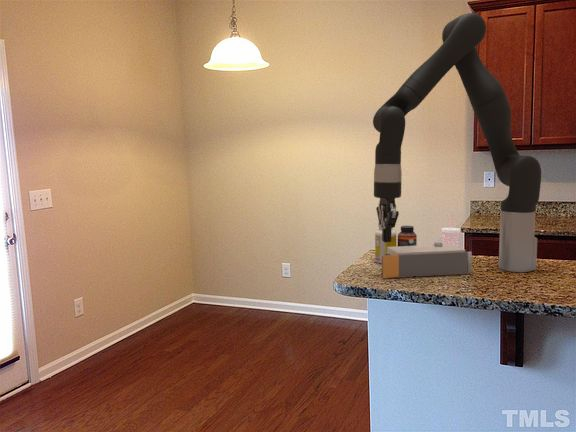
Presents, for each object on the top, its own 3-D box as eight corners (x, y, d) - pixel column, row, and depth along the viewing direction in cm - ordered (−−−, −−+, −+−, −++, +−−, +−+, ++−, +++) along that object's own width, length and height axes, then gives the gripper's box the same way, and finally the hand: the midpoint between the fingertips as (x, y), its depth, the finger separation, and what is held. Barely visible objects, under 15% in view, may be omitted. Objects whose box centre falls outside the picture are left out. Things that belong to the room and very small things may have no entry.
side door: (469, 272, 144) (470, 251, 143) (471, 273, 143) (472, 252, 142) (381, 276, 141) (381, 255, 140) (383, 277, 140) (383, 256, 139)
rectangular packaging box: (450, 266, 153) (451, 241, 152) (464, 273, 144) (465, 247, 143) (383, 270, 150) (383, 244, 149) (393, 277, 141) (393, 250, 140)
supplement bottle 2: (416, 263, 158) (417, 227, 157) (397, 262, 160) (397, 227, 158) (415, 259, 164) (416, 224, 163) (397, 258, 165) (397, 224, 164)
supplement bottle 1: (399, 261, 162) (399, 221, 160) (391, 265, 157) (392, 224, 155) (379, 259, 166) (379, 220, 164) (371, 263, 160) (371, 223, 158)
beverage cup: (442, 252, 173) (443, 212, 171) (460, 254, 170) (461, 213, 168) (439, 256, 167) (440, 214, 166) (458, 257, 165) (459, 215, 163)
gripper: (409, 181, 134) (407, 245, 136) (392, 178, 147) (391, 237, 149) (381, 182, 133) (380, 246, 135) (367, 179, 146) (367, 238, 148)
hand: (386, 241), depth 142 cm, fingers closed
